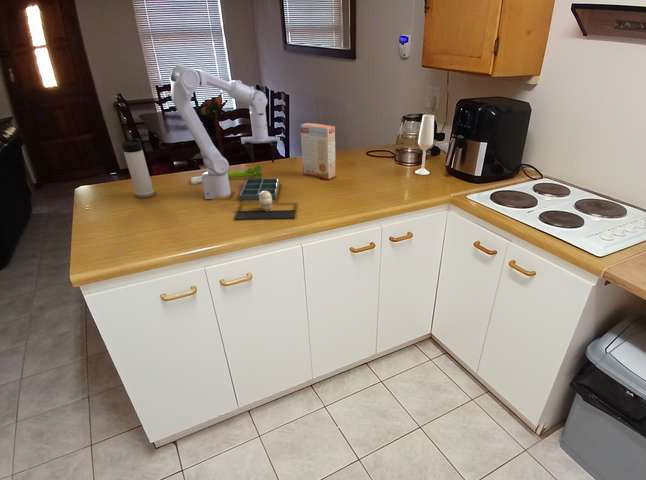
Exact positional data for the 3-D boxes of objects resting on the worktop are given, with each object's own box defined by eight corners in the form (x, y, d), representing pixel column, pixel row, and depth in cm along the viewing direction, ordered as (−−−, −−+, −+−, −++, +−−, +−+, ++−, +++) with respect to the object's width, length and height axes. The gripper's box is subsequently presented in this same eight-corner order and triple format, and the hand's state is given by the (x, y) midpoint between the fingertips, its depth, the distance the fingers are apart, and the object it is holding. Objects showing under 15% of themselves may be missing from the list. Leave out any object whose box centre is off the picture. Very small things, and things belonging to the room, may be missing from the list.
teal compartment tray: (240, 202, 151) (239, 195, 149) (247, 185, 167) (246, 178, 166) (276, 202, 152) (275, 194, 150) (279, 185, 168) (279, 178, 166)
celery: (194, 184, 172) (265, 175, 176) (193, 192, 167) (266, 182, 171) (190, 171, 168) (262, 161, 172) (189, 178, 163) (263, 168, 167)
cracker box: (336, 176, 178) (335, 125, 167) (328, 180, 174) (327, 128, 162) (310, 171, 184) (308, 121, 173) (302, 174, 180) (299, 124, 168)
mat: (235, 219, 138) (234, 218, 137) (241, 204, 149) (241, 203, 149) (294, 218, 139) (294, 217, 139) (295, 203, 151) (295, 202, 150)
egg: (259, 212, 142) (257, 193, 138) (261, 208, 146) (259, 188, 142) (272, 212, 142) (270, 193, 138) (273, 207, 146) (271, 188, 142)
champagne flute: (413, 173, 183) (418, 116, 170) (417, 169, 189) (422, 113, 175) (427, 175, 181) (434, 117, 168) (431, 171, 187) (438, 114, 173)
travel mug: (158, 193, 158) (144, 139, 147) (145, 199, 153) (129, 143, 142) (146, 191, 160) (132, 137, 149) (133, 196, 155) (116, 141, 144)
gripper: (238, 127, 149) (243, 165, 157) (278, 127, 150) (281, 164, 158) (240, 123, 155) (245, 160, 162) (278, 123, 156) (281, 159, 164)
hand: (263, 162), depth 161 cm, fingers open, 7 cm apart
